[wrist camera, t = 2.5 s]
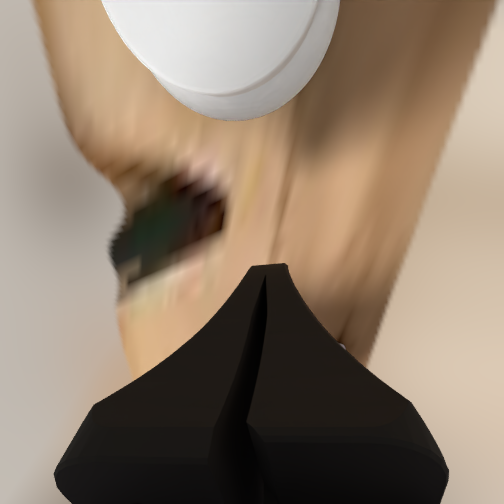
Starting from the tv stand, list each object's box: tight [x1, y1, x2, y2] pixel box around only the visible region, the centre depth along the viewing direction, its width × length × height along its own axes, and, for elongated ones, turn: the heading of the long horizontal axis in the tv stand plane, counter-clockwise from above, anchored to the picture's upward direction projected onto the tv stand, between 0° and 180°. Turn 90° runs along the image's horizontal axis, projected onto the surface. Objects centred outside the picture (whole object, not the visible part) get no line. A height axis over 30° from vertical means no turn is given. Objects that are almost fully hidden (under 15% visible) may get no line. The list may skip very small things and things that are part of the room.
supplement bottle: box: [101, 0, 340, 121], centre depth 9 cm, size 5×5×10 cm
